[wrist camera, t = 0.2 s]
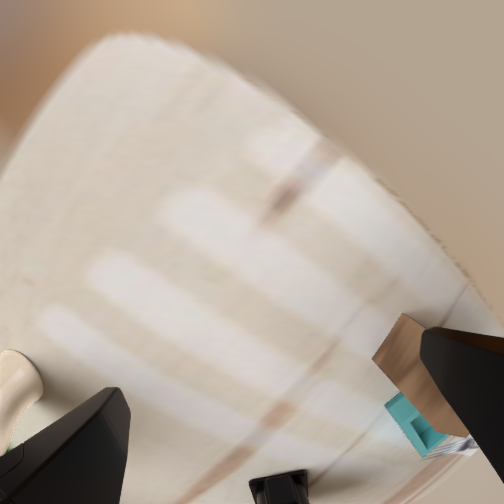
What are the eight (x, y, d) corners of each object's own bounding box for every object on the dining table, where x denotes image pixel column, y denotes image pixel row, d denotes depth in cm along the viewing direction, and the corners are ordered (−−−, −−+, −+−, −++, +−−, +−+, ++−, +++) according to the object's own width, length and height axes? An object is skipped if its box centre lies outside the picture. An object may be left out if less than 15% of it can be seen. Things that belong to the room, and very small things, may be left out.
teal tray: (409, 441, 28) (422, 457, 25) (384, 405, 26) (398, 424, 23) (468, 389, 28) (484, 402, 25) (454, 343, 26) (473, 356, 23)
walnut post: (403, 373, 26) (465, 437, 15) (371, 358, 25) (436, 431, 14) (431, 332, 25) (505, 384, 15) (402, 313, 25) (482, 369, 14)
